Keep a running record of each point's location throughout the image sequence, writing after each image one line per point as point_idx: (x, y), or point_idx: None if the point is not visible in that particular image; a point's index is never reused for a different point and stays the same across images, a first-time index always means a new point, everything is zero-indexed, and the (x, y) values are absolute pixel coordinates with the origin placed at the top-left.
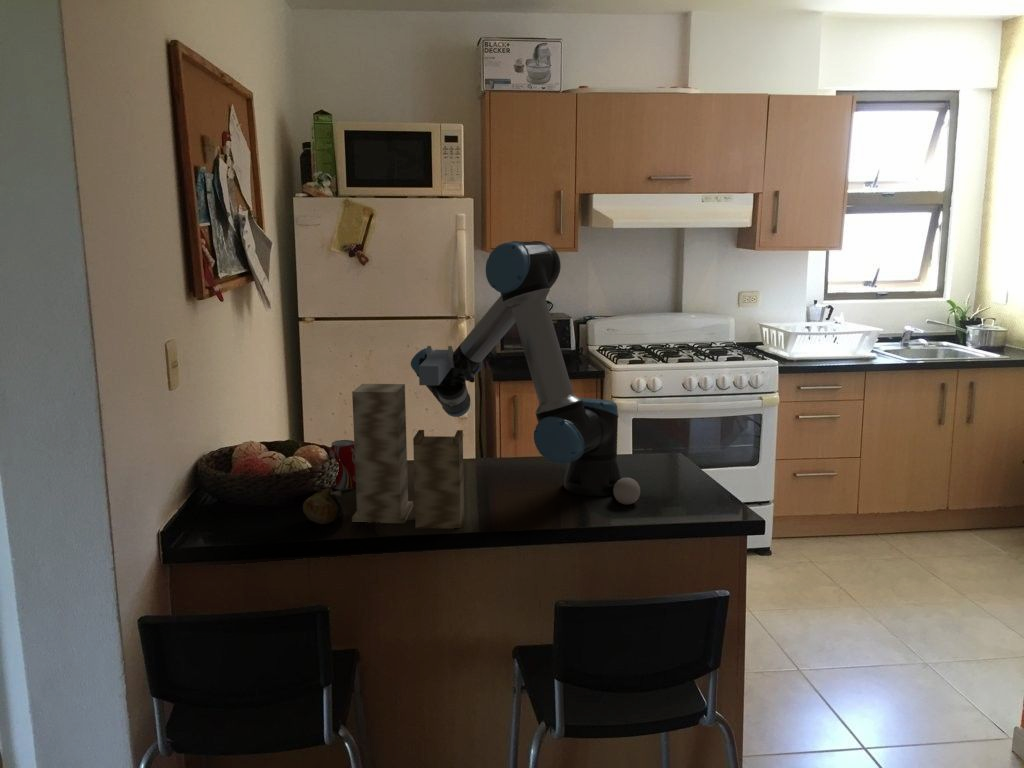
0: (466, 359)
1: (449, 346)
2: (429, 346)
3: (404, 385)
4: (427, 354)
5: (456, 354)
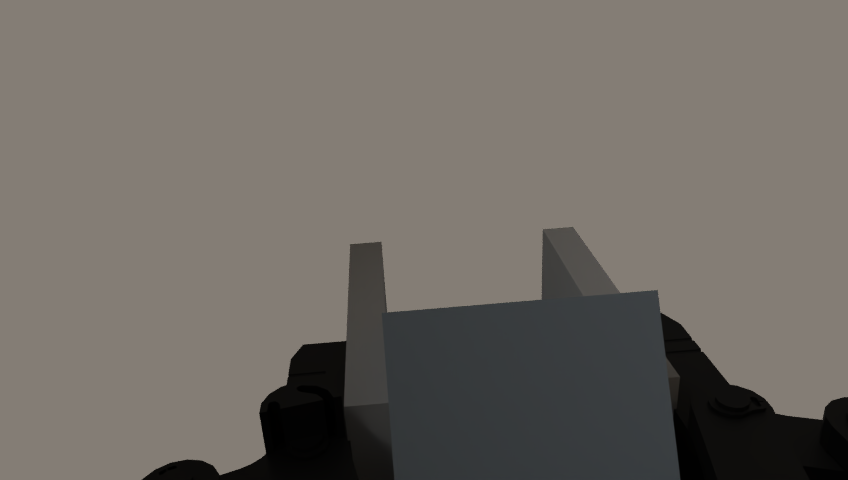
0: (165, 477)
1: (370, 247)
2: (553, 233)
3: None
4: None
5: (312, 345)
